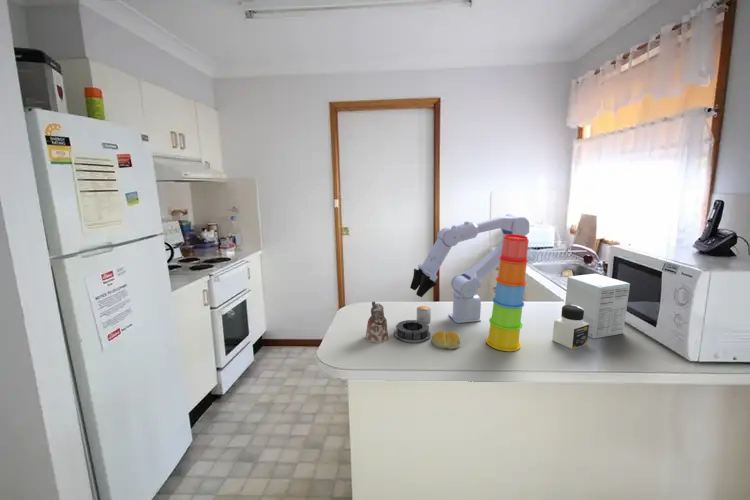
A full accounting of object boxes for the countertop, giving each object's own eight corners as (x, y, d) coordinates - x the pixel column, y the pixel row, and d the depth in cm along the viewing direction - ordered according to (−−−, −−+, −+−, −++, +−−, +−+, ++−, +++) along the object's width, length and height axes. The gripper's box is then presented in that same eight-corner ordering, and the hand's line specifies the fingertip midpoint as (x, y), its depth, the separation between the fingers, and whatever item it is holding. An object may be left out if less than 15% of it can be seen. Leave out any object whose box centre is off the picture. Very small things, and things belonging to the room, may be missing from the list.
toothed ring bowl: (424, 326, 130) (424, 318, 129) (435, 341, 118) (435, 332, 118) (390, 329, 128) (390, 320, 127) (399, 344, 116) (399, 335, 116)
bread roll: (432, 337, 122) (433, 326, 121) (460, 340, 120) (461, 328, 119) (430, 348, 114) (430, 336, 113) (459, 351, 112) (460, 339, 111)
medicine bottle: (572, 349, 112) (576, 312, 110) (551, 340, 118) (555, 305, 116) (587, 344, 115) (591, 308, 113) (566, 336, 122) (570, 301, 119)
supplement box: (624, 333, 123) (631, 283, 119) (593, 339, 119) (600, 287, 115) (590, 319, 135) (596, 272, 132) (561, 323, 132) (566, 276, 128)
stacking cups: (505, 335, 123) (513, 231, 115) (527, 348, 113) (537, 237, 106) (479, 339, 119) (485, 233, 112) (499, 354, 110) (507, 239, 103)
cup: (427, 318, 137) (428, 305, 136) (432, 324, 132) (432, 309, 131) (414, 319, 136) (415, 306, 135) (418, 325, 131) (419, 311, 130)
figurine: (370, 344, 117) (370, 308, 114) (363, 335, 123) (362, 301, 121) (391, 340, 119) (391, 305, 117) (382, 332, 126) (382, 298, 123)
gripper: (419, 249, 136) (401, 281, 137) (432, 258, 122) (411, 294, 123) (435, 258, 138) (416, 289, 139) (449, 268, 124) (429, 303, 125)
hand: (415, 292), depth 131 cm, fingers open, 7 cm apart
